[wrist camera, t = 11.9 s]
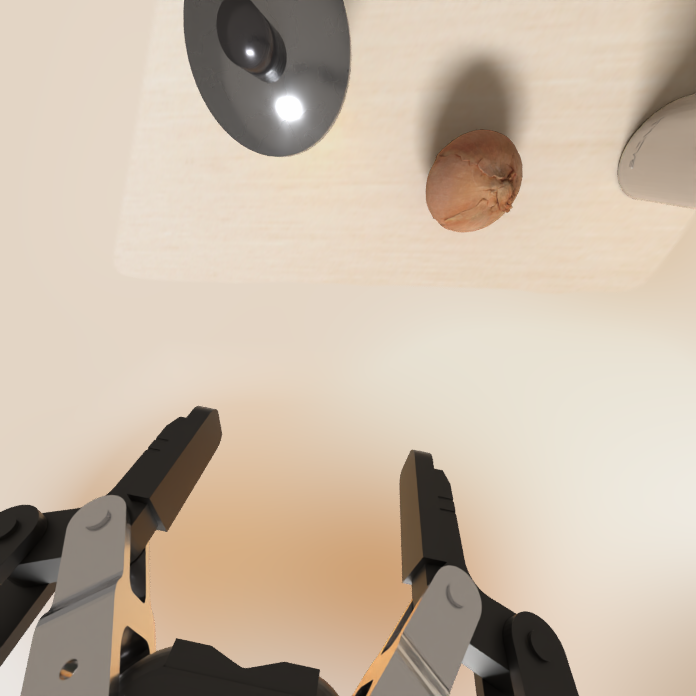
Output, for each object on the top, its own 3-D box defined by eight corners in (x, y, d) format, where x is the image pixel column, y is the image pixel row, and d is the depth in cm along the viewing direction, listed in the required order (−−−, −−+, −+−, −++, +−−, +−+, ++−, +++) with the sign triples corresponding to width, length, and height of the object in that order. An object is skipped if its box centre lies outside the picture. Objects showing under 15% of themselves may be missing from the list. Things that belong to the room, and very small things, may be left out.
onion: (489, 175, 35) (562, 181, 27) (437, 238, 38) (491, 260, 30) (451, 108, 30) (530, 94, 22) (393, 188, 32) (446, 200, 24)
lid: (364, -64, 18) (356, -137, 14) (340, 167, 26) (330, 169, 21) (175, -93, 19) (106, -173, 14) (205, 144, 26) (166, 141, 22)
